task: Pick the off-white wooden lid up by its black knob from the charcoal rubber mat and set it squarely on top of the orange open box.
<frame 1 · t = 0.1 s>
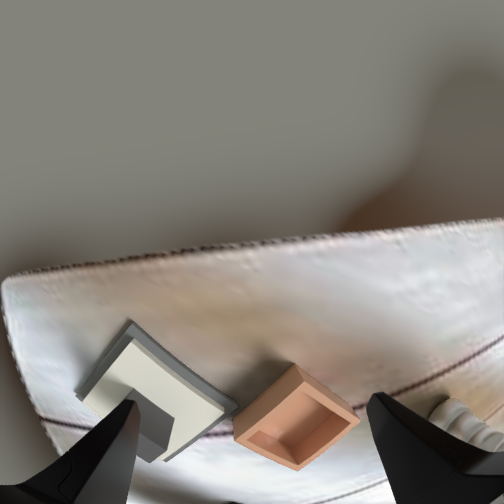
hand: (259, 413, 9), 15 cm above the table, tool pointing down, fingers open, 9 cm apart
mat: (150, 402, 24), on the table
lid: (148, 406, 23), point 1 cm above the table, touching mat
orange open box: (292, 411, 25), on the table
plastic bottle: (438, 411, 28), on the table
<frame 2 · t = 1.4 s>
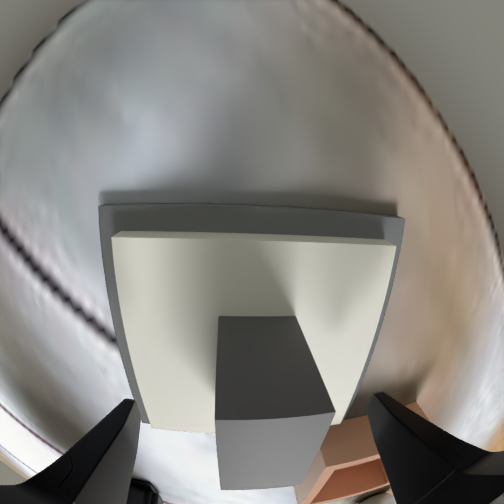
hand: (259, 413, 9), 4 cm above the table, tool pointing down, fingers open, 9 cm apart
mat: (251, 343, 13), on the table
lid: (252, 351, 12), point 1 cm above the table, touching mat
orange open box: (351, 443, 17), on the table
plastic bottle: (370, 496, 25), on the table
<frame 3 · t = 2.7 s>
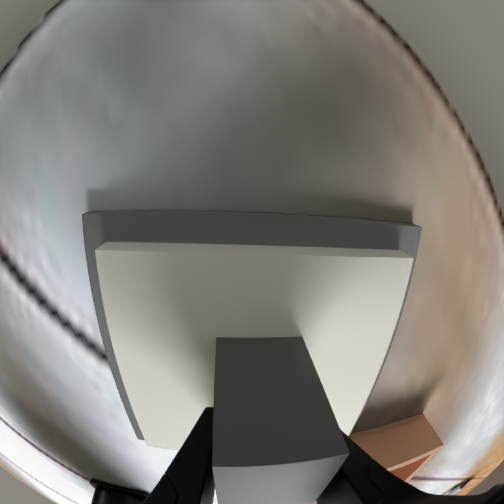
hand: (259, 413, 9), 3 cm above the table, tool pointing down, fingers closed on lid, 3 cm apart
mat: (252, 362, 11), on the table
lid: (253, 370, 11), point 1 cm above the table, touching gripper, mat
orange open box: (355, 455, 16), on the table
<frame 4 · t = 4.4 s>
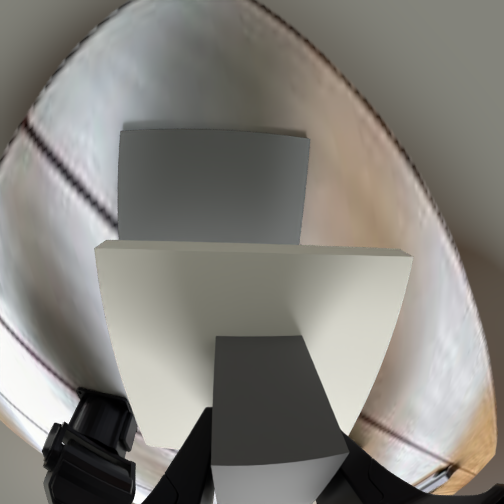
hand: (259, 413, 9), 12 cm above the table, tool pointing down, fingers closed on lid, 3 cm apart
mat: (207, 224, 19), on the table
lid: (253, 370, 11), point 10 cm above the table, touching gripper
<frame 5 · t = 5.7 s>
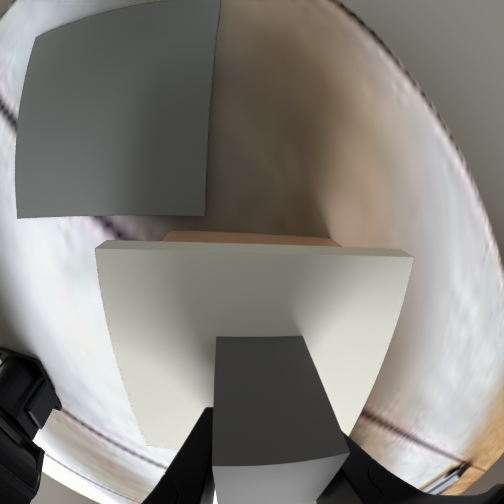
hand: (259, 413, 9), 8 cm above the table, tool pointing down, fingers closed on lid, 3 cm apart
mat: (99, 103, 12), on the table
lid: (253, 370, 11), point 6 cm above the table, touching gripper
orange open box: (247, 304, 16), on the table
when the fingers open (7 cm above the table, at t = 6.4 s): lid drops 1 cm, resting on orange open box.
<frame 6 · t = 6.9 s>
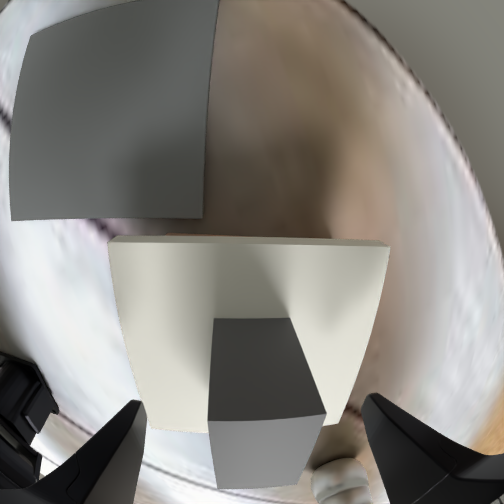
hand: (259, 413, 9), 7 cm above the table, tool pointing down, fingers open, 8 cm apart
mat: (94, 102, 11), on the table
lid: (248, 352, 12), point 4 cm above the table, touching orange open box
plastic bottle: (333, 463, 23), on the table
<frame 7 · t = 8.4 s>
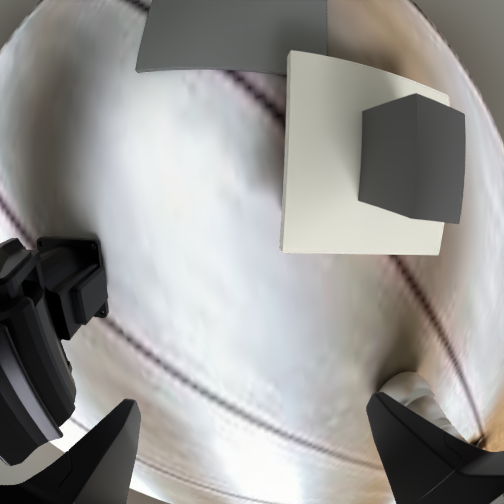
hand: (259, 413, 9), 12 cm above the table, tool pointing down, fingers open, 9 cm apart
mat: (238, 1, 13), on the table
lid: (375, 159, 14), point 4 cm above the table, touching orange open box
plastic bottle: (393, 384, 25), on the table
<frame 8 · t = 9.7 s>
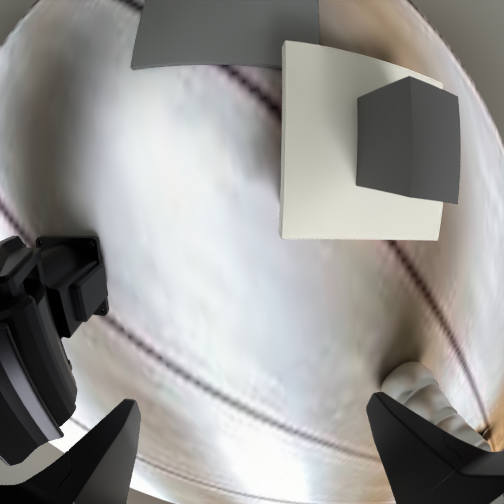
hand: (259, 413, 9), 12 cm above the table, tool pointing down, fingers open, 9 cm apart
lid: (372, 145, 14), point 4 cm above the table, touching orange open box
plastic bottle: (397, 375, 25), on the table
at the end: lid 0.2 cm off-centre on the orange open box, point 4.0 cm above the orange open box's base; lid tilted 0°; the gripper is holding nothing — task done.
